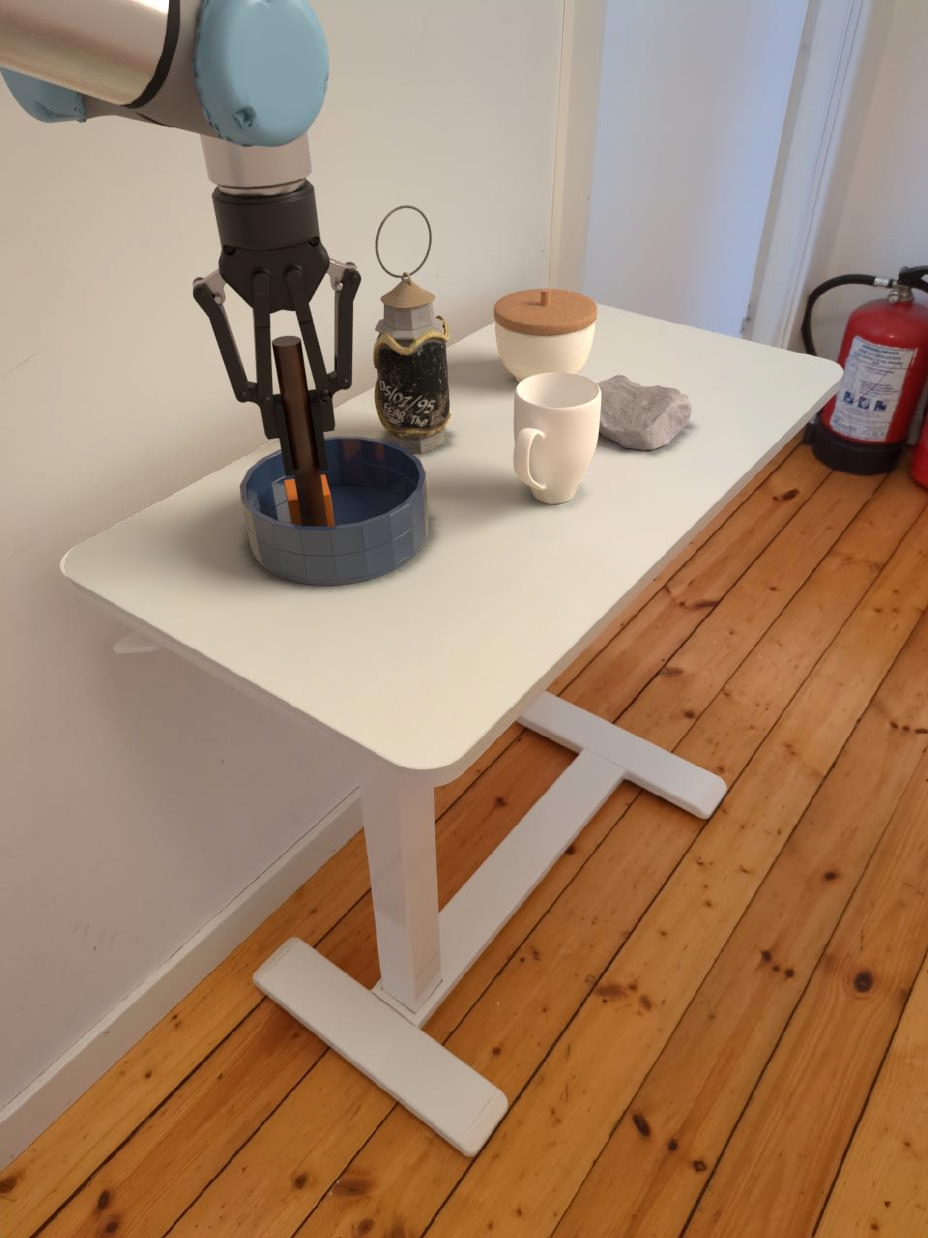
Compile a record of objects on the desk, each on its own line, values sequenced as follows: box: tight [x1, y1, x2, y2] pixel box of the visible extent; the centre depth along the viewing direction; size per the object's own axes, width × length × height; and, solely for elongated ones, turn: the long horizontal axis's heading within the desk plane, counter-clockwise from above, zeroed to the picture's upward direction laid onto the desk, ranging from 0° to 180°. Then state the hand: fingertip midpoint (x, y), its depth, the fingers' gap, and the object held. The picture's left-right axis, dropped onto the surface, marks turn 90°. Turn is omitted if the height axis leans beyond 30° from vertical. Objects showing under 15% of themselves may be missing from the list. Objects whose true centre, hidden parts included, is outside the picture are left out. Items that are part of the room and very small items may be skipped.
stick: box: [271, 335, 328, 527], centre depth 79 cm, size 2×2×18 cm
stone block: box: [596, 374, 692, 451], centre depth 103 cm, size 12×5×10 cm
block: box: [284, 474, 335, 527], centre depth 87 cm, size 4×4×4 cm
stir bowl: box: [239, 435, 430, 586], centre depth 86 cm, size 17×17×6 cm
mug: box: [513, 372, 601, 505], centre depth 87 cm, size 12×8×11 cm
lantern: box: [372, 204, 452, 454], centre depth 94 cm, size 9×8×25 cm
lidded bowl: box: [493, 287, 598, 384], centre depth 111 cm, size 13×13×11 cm
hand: (305, 465), depth 81 cm, fingers closed on stick, 2 cm apart
